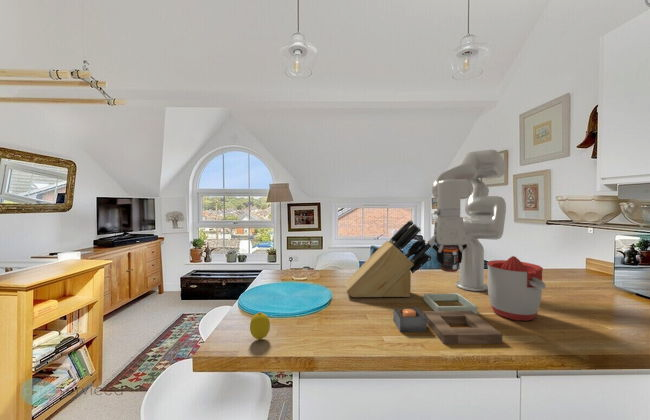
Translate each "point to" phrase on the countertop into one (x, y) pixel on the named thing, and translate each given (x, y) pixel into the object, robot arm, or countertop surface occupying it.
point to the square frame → (474, 335)
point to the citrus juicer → (515, 288)
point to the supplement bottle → (450, 258)
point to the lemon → (259, 326)
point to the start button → (409, 312)
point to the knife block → (390, 267)
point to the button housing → (410, 321)
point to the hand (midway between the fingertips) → (449, 261)
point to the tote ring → (445, 297)
